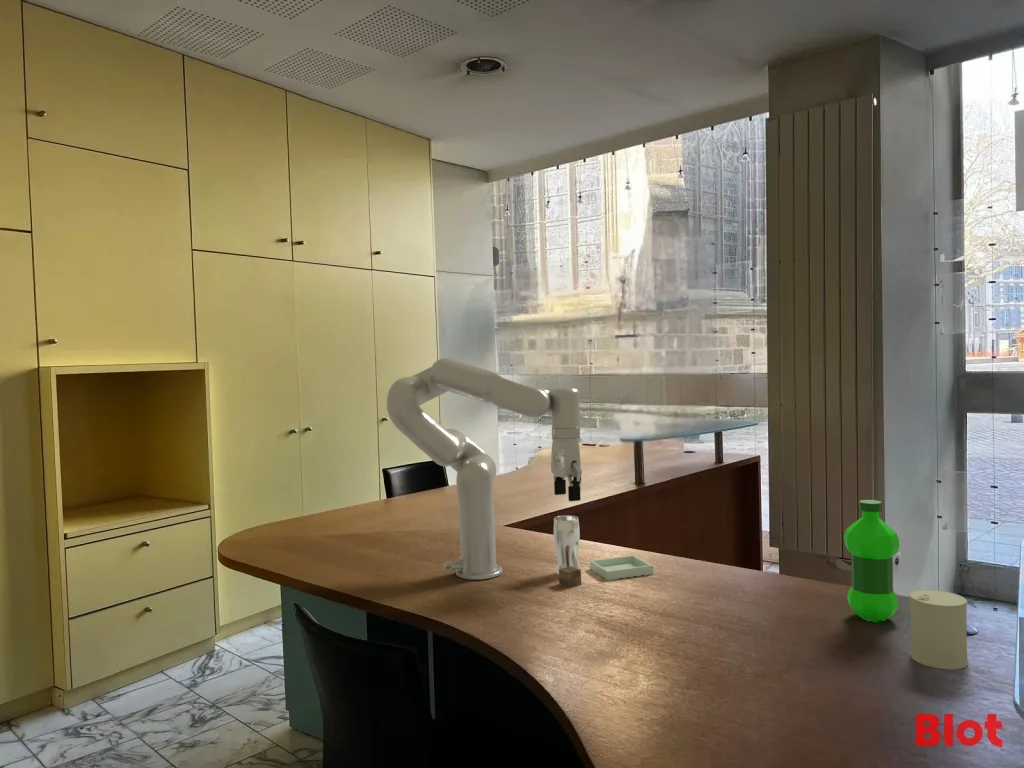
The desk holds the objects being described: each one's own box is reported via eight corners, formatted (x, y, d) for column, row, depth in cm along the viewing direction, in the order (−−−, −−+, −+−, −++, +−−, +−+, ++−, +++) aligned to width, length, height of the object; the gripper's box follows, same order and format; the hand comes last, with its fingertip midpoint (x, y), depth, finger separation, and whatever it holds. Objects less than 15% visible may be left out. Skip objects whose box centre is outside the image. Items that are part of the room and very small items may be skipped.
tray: (607, 580, 189) (607, 571, 189) (590, 569, 200) (589, 560, 200) (653, 574, 193) (653, 565, 193) (633, 563, 204) (633, 555, 204)
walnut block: (568, 588, 184) (568, 572, 184) (559, 584, 188) (558, 569, 188) (581, 585, 187) (580, 569, 186) (571, 581, 190) (571, 566, 190)
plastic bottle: (898, 629, 149) (896, 508, 149) (842, 621, 155) (839, 504, 154) (902, 614, 158) (900, 499, 157) (849, 607, 164) (846, 495, 163)
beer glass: (579, 577, 193) (577, 520, 192) (553, 577, 194) (551, 520, 193) (582, 569, 199) (580, 515, 199) (557, 569, 201) (555, 515, 200)
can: (899, 651, 139) (898, 588, 139) (945, 647, 140) (944, 585, 140) (931, 671, 130) (930, 604, 130) (980, 667, 131) (979, 601, 130)
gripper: (541, 431, 203) (542, 493, 204) (565, 437, 187) (566, 504, 187) (566, 430, 205) (567, 491, 206) (592, 436, 189) (593, 502, 190)
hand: (567, 497), depth 197 cm, fingers open, 9 cm apart
